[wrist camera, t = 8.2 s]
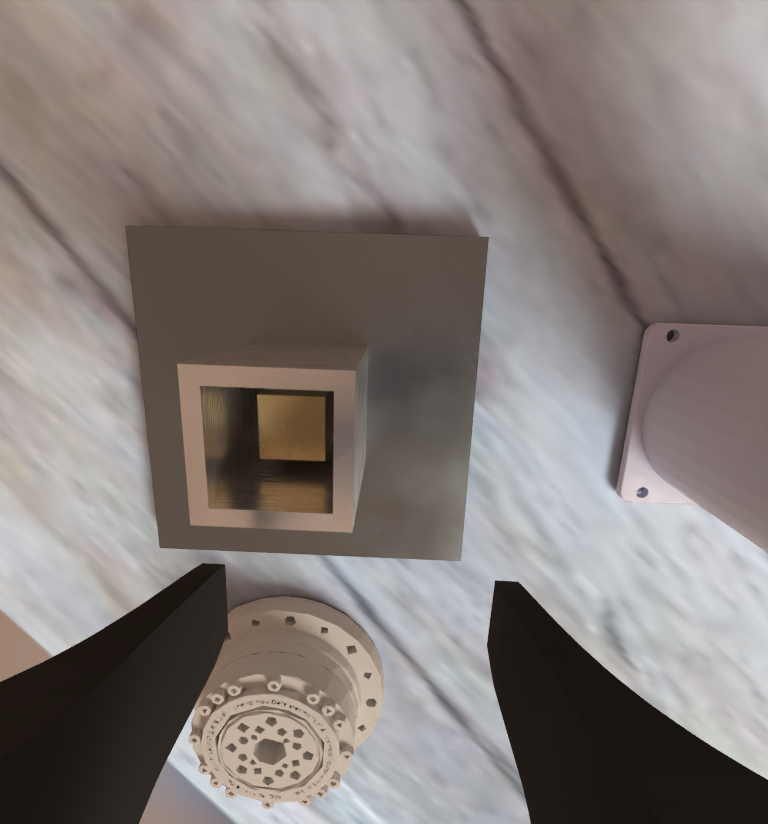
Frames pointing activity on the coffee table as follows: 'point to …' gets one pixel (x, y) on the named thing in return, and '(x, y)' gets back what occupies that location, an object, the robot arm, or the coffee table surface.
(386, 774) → the coffee table surface
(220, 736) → the mechanical component
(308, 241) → the post plate
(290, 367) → the collar
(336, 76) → the coffee table surface
